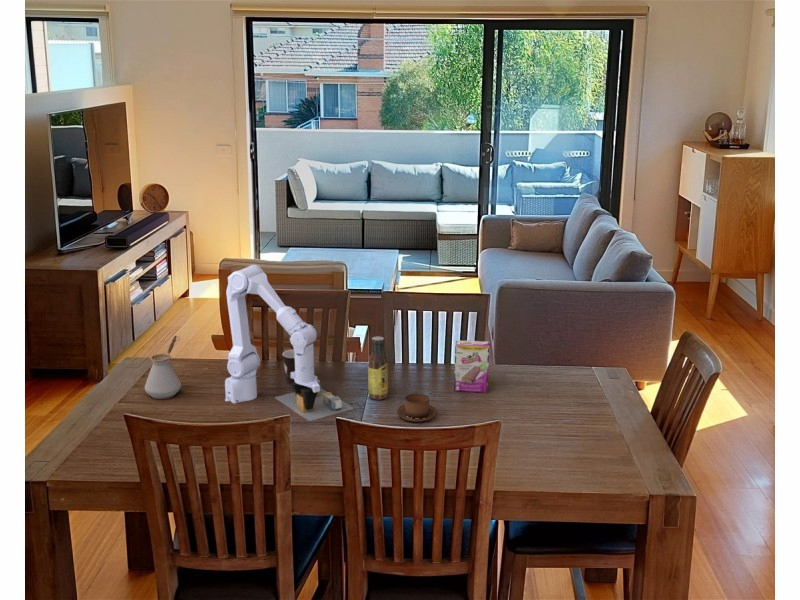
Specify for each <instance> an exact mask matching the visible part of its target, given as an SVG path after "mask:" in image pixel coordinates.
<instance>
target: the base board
mask: <svg viewBox="0 0 800 600" xmlns="http://www.w3.org/2000/svg"><path fill="white" fill-rule="evenodd" d="M325 393H328V391H327V390H325V389H324V388H322V387H321V395H317V396H316V398H315V410H313V411H309V412H306V413H303V412H301V411H300V410H298V409H297V397H296V394H295V391H294V392H291V393H286V394H283V395H278V396H274V399H276V400H277V401H279V402H280V403H282V404H283V405H284V406H286V407H287V408H289V409H290V410H292V411H293V412H295V414H298V415H299V416H301V418H304V419H306V420H307V421H308V422H311V421H314V420H315V421H316V420H318V419H322V418H326V417H329V416H333V415H336V414H339V413H344V412H346V411H350V410H351V411H352V410H353V409H355V407H354V406H351V405H350V404H348V403H346V402H345V401H343V400H341V401H342V407H341V408H340V409H336V410H333V411H331V410H330V409H328V404H327V403H323V398H322V394H325Z"/></svg>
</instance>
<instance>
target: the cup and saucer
mask: <svg viewBox="0 0 800 600" xmlns="http://www.w3.org/2000/svg"><path fill="white" fill-rule="evenodd" d="M396 413H397V415H398V416H399V417H400V418H401V419H403V420H404V421H409V422H416V423H417V422H426V421H429V420H431V419H433V418H434V417H436V414H437V409H436V407H434V406H432V405H430V396H428V395H426V394H424V393H410V394H407V395H405V397H404V404H403V405H400V406H399V407H398V408H397V410H396ZM406 416H408V417H409V418H411V417H412V419H409V418H407V417H406ZM415 418H419V419H415ZM423 418H425V419H423Z"/></svg>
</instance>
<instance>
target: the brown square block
mask: <svg viewBox="0 0 800 600" xmlns="http://www.w3.org/2000/svg"><path fill="white" fill-rule="evenodd" d="M296 396H297V409H298V410H300V411H301V412H303V413H306V412H309V411H313V410H315V402H314V406H313V409H310V410H306V407H305V401H304V397H303V394H302V392H301V393H297V394H296Z"/></svg>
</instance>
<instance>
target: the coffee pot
mask: <svg viewBox="0 0 800 600" xmlns="http://www.w3.org/2000/svg"><path fill="white" fill-rule="evenodd" d="M172 338H173V339H172V340H171V343H170V344H169V347H168V350H167V352H166V353H158V354H153V355H151V356H150V357H149V360H150V361H151V362H152V365H151V368H150V371H149V373H148V376H147V380H146V382H145V385H144V391H145V392H146V394H147V395H149V396H151V397H152V398H153V399H156V400H157V399H158V400H165V399H170V398H172V397H175V395H176V394H177V393H178V392H179V391H180V390H181V388H182V383H181V381H180V378H179V377H178V375H177V374H176V372H175V370H174V368H173V366H172V365H171V363H170V361H171V360H172V356H171V355H170V353H171V352H172V350H173V348H174V346H175V343H176V341H178V340H180V339H181V338H180V337H179V336H177V335H174V336H173V337H172ZM177 338H178V339H177Z"/></svg>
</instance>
